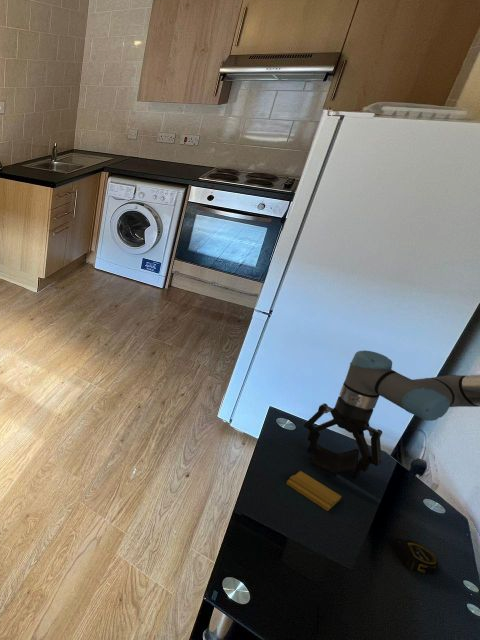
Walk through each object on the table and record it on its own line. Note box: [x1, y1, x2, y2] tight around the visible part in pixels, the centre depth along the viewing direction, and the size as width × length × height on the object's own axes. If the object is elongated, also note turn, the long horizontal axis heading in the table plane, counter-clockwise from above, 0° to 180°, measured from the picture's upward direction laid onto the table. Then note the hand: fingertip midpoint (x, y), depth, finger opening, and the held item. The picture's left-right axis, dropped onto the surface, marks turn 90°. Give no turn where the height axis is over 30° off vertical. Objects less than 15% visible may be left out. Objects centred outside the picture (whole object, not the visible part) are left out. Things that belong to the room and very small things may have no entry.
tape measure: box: [390, 538, 439, 575], centre depth 97 cm, size 7×7×4 cm
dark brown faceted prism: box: [310, 444, 360, 477], centre depth 121 cm, size 12×7×10 cm
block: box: [285, 470, 343, 512], centre depth 116 cm, size 10×8×2 cm
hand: (332, 463), depth 122 cm, fingers closed on dark brown faceted prism, 10 cm apart
